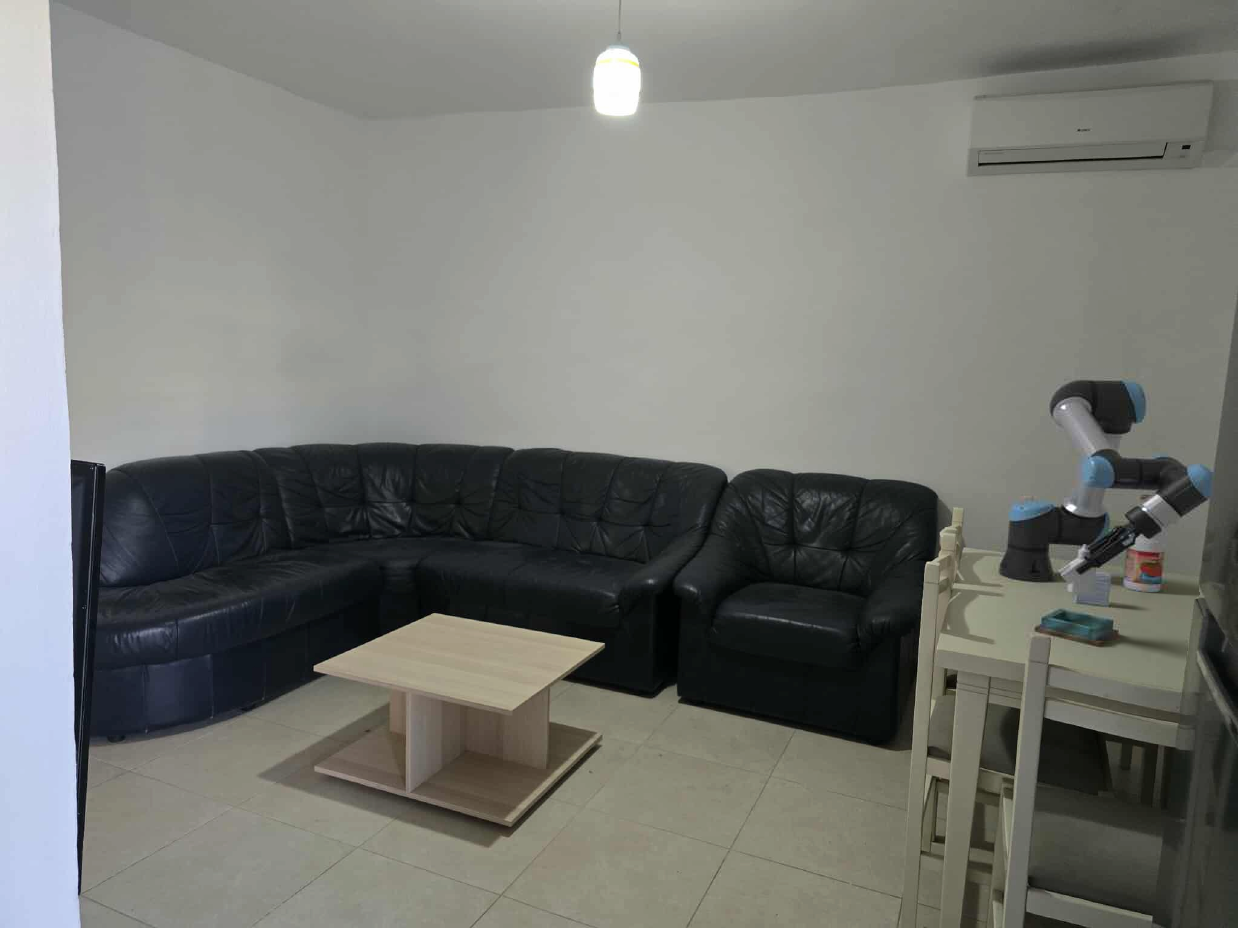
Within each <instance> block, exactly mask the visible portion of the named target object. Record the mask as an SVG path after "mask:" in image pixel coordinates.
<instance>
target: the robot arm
mask: <svg viewBox="0 0 1238 928" xmlns="http://www.w3.org/2000/svg"><path fill="white" fill-rule="evenodd" d="M1145 394H1146V393H1145V391H1144V389H1143V387H1142V385H1140V384H1139V383H1138V382H1135V381H1126V380H1121V379H1120V380H1098V379H1097V380H1095V379H1093V380H1092V379H1091V380H1090V379H1078V380H1077V379H1076V380H1073V381H1070V382H1067V383H1066V384H1064V385H1062V386H1060V387H1059V388H1058V390H1056V391H1055V393H1054V394H1053V395H1052V396H1051V399H1050V403H1049V413H1050V417H1051V418H1052V420H1053V421H1054V423H1055V424H1057V426H1059V427H1061V428H1062V429H1063V430H1064V432H1065V433H1066V434H1067V436H1068V438H1069V439H1070V441H1071V443H1072V444H1073V445H1074V447H1075V449H1076V450H1077V451H1076V452H1078V454H1079V456H1080V458H1079V462H1078V465H1077V469H1076V473H1075V476H1074V479H1073V484H1072V487H1071V491H1070V494H1069V496H1066V497H1065V498H1063V500H1062V502H1061V506H1054V504H1053V502H1051V501H1046V500H1028V501H1026V500H1024V501H1020V502H1016V503H1014V504H1012V506H1011V507H1010V511H1009V516H1008V533H1007V546H1006V550H1005V553H1004V555H1003V557H1002V558H1001V561H1000V563H999V567H998V568H999V569H998V573H999V574H1000V575H1001V576H1003V577H1006V578H1010V579H1014V580H1019V581H1027V582H1039V583H1040V582H1042V583H1043V582H1050V581H1053V580H1054V569H1053V565H1052V561H1051V557H1050V552H1049V551H1050V546H1051V545H1060V546H1061V545H1063V546H1078V547H1079V546H1080V547H1081V548H1082V547H1083V544H1085V545H1087V549H1088V550H1089V551H1090V557H1087V556H1084V559H1083V560H1082V561H1080V562H1079V563H1078V564H1076V565H1075V566H1073V567H1072V568H1070V563H1071V562H1069V563H1068V564H1066V565H1065V566H1064V567H1062V568H1061V569H1059V570H1058V572H1059V573H1060V576H1061V578H1063V580H1064V581H1065V582H1066V583H1067V585H1068V584H1069V585H1070V584H1071V583H1073V582H1074V581H1076V580H1077V579H1078V578H1080V577H1081V576H1083V575H1084V574H1086V573H1087V572H1089V571H1090V570H1091V569H1093V568H1096V569H1100V568H1101V567H1102V566H1103V565H1105V564H1107V563H1108V562H1109V561H1111V560H1112V559H1114V558H1116V557H1117V556H1118V555H1120V554H1121V553H1123V552H1124V551H1126V549H1127V548H1129V547H1131V546H1133V545H1135V541H1136V538H1137V537H1138V536H1139V535H1140V534H1143V535H1144V536H1145V537H1146V538H1147V539H1151V538H1152V537H1154V536H1155V535H1157V534H1158V533H1160V532H1161V530H1162V529H1161V527H1164V528H1166V529H1167V528H1168V527H1170V526H1171V525H1172V524H1174V525H1176V524H1178V520H1179V519H1181V518H1182V517H1183V516H1185V515H1187V514H1188V513H1190V512H1192V511H1193V510H1195V509H1196V508H1198V507H1199V506H1202V504H1204V503H1205V502H1207V501H1208V500H1210V499H1212V497H1211V489H1212V483H1213V474H1215V472H1213V471H1212V470H1210V468H1208V467H1207V466H1205V464H1202V463H1195V464H1194V465H1191V466H1189V467H1187V466H1186V465H1184V464H1183V463H1182V462H1181V461H1180V460H1178V459H1176V458H1174V457H1171V456H1169V455H1166V454H1156V455H1154V456H1151V457H1149V458H1137V457H1136V458H1135V457H1134V458H1133V457H1131V458H1130V457H1122V456H1121V455H1120V453H1119V452H1118V451H1119V449H1120V445H1121V441H1122V438H1123V436H1125V435H1128V434H1129V433H1130V432H1131V430H1132V426H1133V424H1134V425H1137V424H1140V423H1142V421H1143V420H1144V419H1145V416H1146V413H1147V400H1146V399H1147V398H1146V395H1145ZM1107 489H1112V490H1113V489H1119V490H1121V489H1122V490H1139V491H1140V490H1141V491H1154V492H1153V493H1152V494H1150V495H1151V496H1149V497H1148V498H1146V499H1145V500H1144V501H1141V502H1140V505H1137V506H1136V505H1135V506H1134V507H1132V508H1131V509H1130V510H1128V511H1127V512H1125V514H1124V517H1125V518H1126V519H1127V521H1129V522H1128V523H1125V524H1124V525H1116V526H1114V528H1112V529H1111V528H1110V527H1111V526H1110V524H1111V518H1110V514H1109V513H1108V511H1107V509H1106V507H1105V505H1104V504H1103V500H1104V498H1105V495H1106V491H1107ZM1110 529H1111V530H1110ZM1076 559H1078V557H1076V558H1075V559H1074V560H1076Z"/></svg>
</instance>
